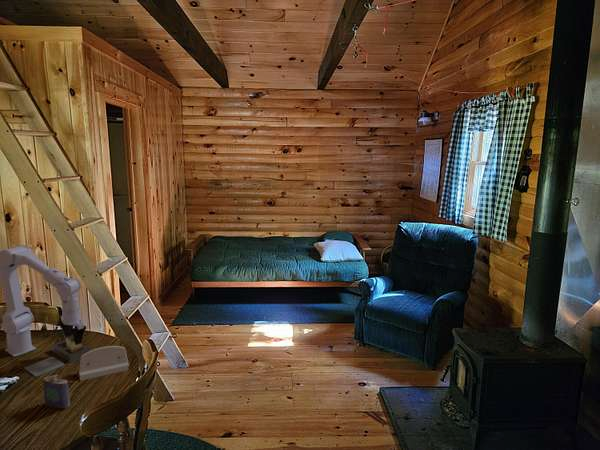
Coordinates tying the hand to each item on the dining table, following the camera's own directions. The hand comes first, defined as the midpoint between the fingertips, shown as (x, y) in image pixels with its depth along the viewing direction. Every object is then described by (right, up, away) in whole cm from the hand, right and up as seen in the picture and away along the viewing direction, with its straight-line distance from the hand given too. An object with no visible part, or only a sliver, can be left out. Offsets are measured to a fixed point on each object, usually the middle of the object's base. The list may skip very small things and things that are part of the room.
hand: (73, 341), depth 153 cm
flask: (+13, -12, -30) cm, 35 cm away
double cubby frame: (-3, -6, +3) cm, 7 cm away
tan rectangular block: (0, -6, +1) cm, 6 cm away
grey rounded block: (+17, -9, -9) cm, 21 cm away
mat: (-6, -7, -8) cm, 13 cm away
